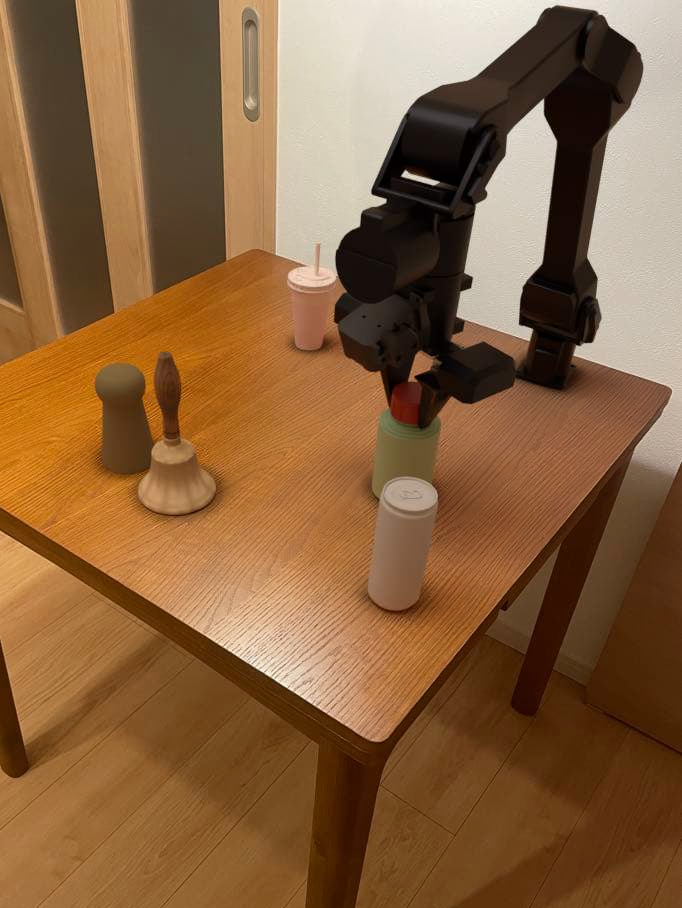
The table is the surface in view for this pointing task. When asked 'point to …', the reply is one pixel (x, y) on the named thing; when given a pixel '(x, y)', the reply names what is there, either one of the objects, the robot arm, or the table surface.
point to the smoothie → (310, 302)
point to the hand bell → (173, 454)
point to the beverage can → (402, 542)
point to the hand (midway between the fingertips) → (408, 417)
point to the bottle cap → (406, 402)
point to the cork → (124, 419)
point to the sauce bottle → (404, 451)
